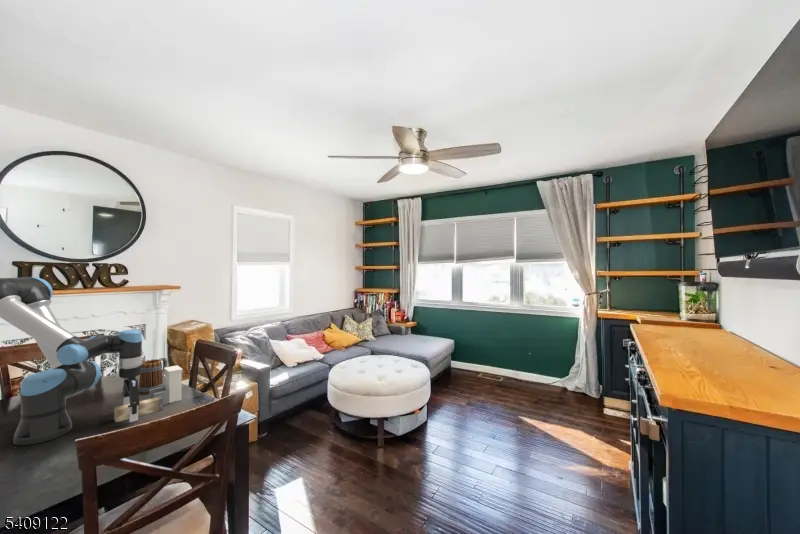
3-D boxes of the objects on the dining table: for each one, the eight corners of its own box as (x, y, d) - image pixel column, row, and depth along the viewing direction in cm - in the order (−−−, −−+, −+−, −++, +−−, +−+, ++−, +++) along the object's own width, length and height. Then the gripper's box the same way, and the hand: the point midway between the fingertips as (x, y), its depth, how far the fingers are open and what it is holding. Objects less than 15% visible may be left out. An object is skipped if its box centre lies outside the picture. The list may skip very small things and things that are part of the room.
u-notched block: (153, 407, 150) (154, 374, 149) (149, 402, 155) (149, 370, 155) (182, 399, 158) (182, 368, 158) (177, 395, 164) (177, 365, 164)
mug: (153, 394, 164) (153, 364, 164) (132, 394, 164) (132, 364, 164) (175, 383, 180) (175, 356, 180) (156, 382, 180) (156, 355, 180)
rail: (115, 422, 135) (115, 410, 135) (114, 419, 138) (114, 407, 138) (162, 409, 147) (162, 398, 147) (160, 407, 150) (160, 395, 150)
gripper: (148, 370, 135) (148, 422, 135) (135, 358, 151) (135, 405, 151) (124, 375, 129) (124, 429, 129) (114, 362, 146) (114, 410, 146)
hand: (130, 416), depth 140 cm, fingers open, 12 cm apart
